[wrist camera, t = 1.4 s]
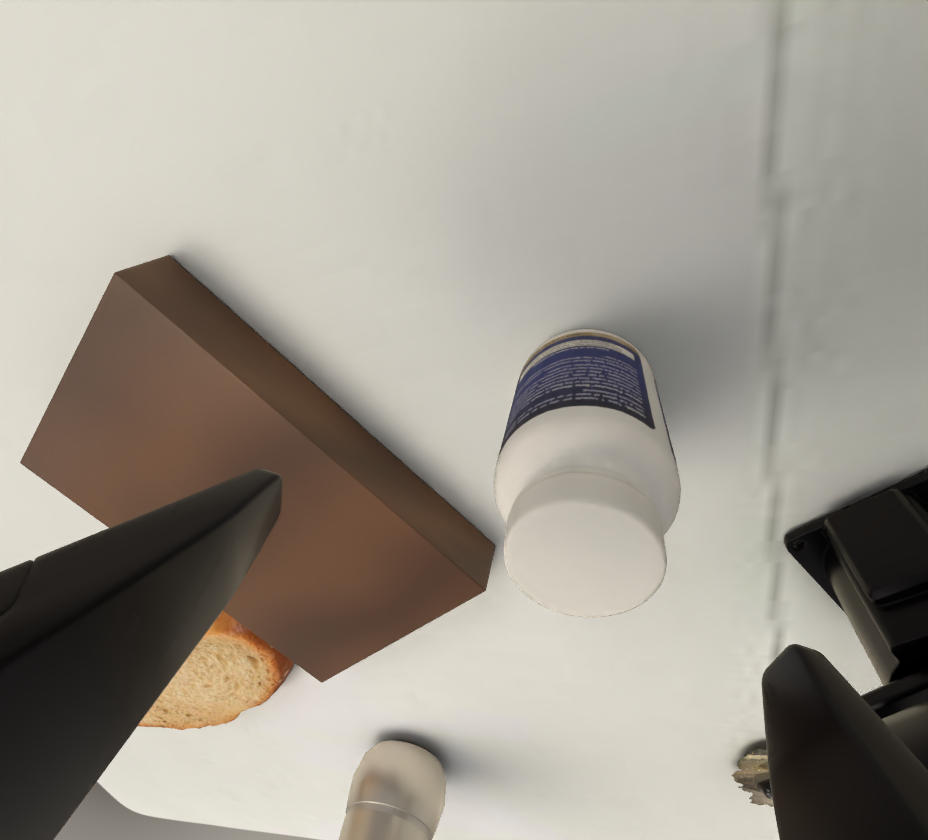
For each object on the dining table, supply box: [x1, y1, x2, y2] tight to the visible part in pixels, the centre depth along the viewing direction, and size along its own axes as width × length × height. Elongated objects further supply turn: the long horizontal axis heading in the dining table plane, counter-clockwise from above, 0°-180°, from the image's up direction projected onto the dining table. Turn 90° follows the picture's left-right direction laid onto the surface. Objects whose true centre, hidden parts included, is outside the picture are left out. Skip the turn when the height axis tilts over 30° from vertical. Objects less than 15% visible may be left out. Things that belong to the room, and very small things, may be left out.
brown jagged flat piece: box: [732, 748, 774, 806], centre depth 29 cm, size 7×8×2 cm
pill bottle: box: [494, 329, 681, 617], centre depth 17 cm, size 5×5×10 cm
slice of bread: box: [138, 611, 294, 730], centre depth 36 cm, size 18×18×4 cm
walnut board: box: [20, 255, 495, 682], centre depth 26 cm, size 20×14×3 cm
